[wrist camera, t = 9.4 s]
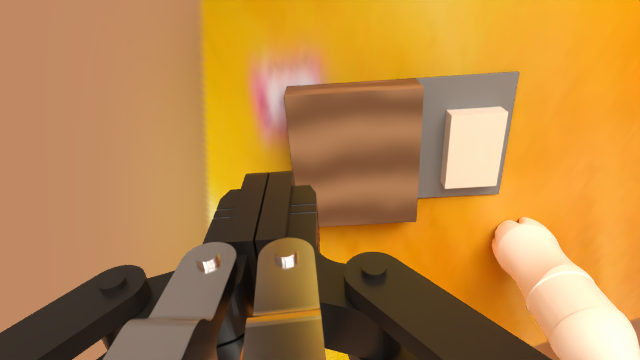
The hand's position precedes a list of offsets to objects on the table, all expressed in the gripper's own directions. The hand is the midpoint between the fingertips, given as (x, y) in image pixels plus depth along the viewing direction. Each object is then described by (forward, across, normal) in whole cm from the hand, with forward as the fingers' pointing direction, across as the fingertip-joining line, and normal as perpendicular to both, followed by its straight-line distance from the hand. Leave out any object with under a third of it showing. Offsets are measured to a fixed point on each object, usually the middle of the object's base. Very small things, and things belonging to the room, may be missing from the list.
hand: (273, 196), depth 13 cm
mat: (+31, -17, +13) cm, 38 cm away
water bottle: (+31, -26, +27) cm, 48 cm away
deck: (+31, -5, +13) cm, 34 cm away
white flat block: (+29, -18, +13) cm, 37 cm away
